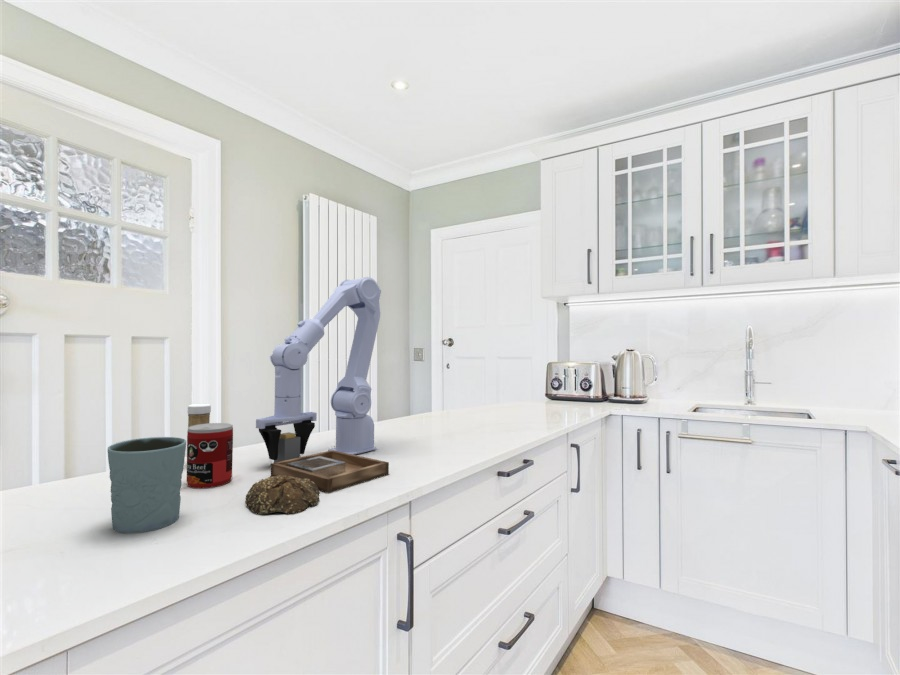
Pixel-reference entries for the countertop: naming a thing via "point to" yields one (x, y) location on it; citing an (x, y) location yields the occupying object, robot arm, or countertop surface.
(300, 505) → the bread roll
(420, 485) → the countertop surface
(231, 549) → the countertop surface
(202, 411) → the sprinkles bottle
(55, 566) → the countertop surface
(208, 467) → the canned food
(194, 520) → the countertop surface
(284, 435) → the block
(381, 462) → the tray
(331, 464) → the socket
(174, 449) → the green plant pot
